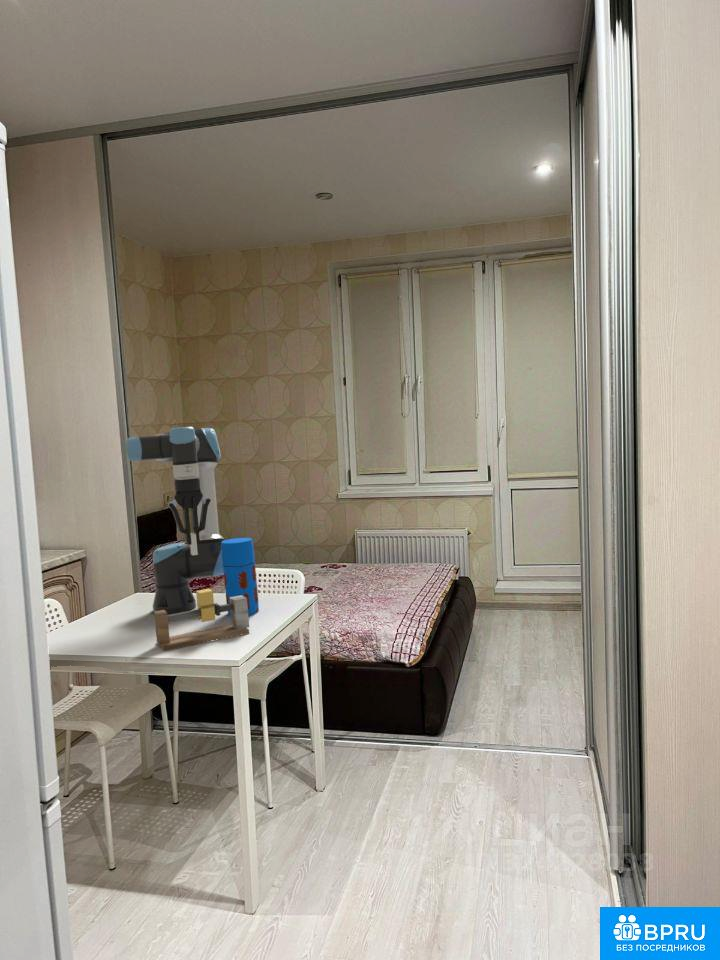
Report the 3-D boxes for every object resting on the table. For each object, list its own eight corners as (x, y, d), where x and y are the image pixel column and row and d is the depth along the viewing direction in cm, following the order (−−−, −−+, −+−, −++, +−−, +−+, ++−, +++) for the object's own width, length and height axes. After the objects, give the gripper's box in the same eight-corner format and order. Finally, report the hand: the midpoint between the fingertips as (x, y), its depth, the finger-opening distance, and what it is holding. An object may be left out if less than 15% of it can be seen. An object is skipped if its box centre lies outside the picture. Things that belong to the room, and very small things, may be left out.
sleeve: (198, 619, 231) (196, 590, 230) (211, 616, 233) (208, 588, 232) (202, 622, 227) (199, 593, 226) (215, 619, 229) (212, 590, 228)
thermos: (264, 608, 262) (257, 537, 260) (251, 616, 251) (244, 542, 249) (235, 608, 265) (229, 538, 263) (222, 616, 254) (215, 543, 252)
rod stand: (155, 643, 228) (151, 609, 227) (242, 626, 240) (239, 594, 239) (162, 651, 219) (158, 616, 218) (252, 632, 231) (249, 599, 230)
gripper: (167, 481, 222) (175, 559, 224) (211, 476, 227) (218, 552, 229) (162, 479, 229) (170, 556, 231) (204, 475, 234) (212, 549, 236)
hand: (194, 554), depth 230 cm, fingers closed
